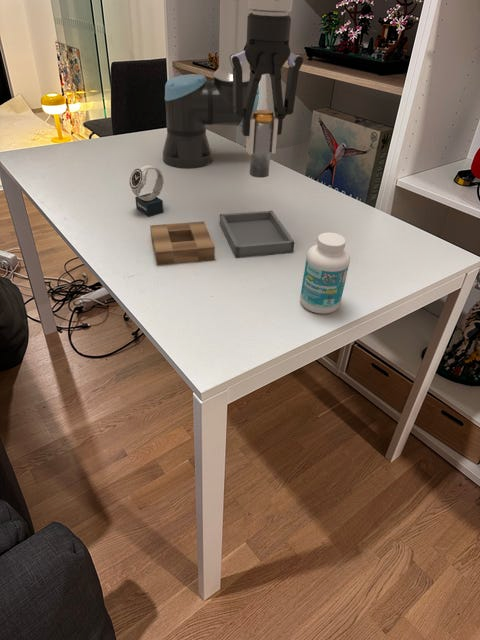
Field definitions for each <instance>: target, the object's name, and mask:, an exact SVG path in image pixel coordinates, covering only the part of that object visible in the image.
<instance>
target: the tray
mask: <svg viewBox="0 0 480 640" xmlns="http://www.w3.org/2000/svg"><path fill="white" fill-rule="evenodd" d="M219 226H220V229H221V230H222V232H223V234H224V237H225V239H226V241H227V243H228V245H229V247H230V249H231V252H232V253H233V256H234V257H235V259H239V258H246V257H247V258H250V257H260V256H269V255H279V254H280V255H281V254H282V255H283V254H291V253H294V250H295V249H294V248H295V241H294V239H293V238H292V236H291V235H290V233H289V232H288V230H287V229H286V228H285V226H284V224H282V222H281V220H280V219H279V218H278V217H277V215H276V213H275V212H274V210H262V211H261V210H260V211H259V210H258V211H249V212H235V213H234V212H233V213H221V214H219Z"/></svg>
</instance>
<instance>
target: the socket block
mask: <svg viewBox="0 0 480 640" xmlns="http://www.w3.org/2000/svg"><path fill="white" fill-rule="evenodd" d="M149 228H150V239H151V244H152V247H153V252H154V253H153V254H154V258H155V261H156V266H162V265H163V266H164V265H173V264H183V263H185V264H186V263H195V262H207V261H215V259H216V258H215V257H216V256H215V253H216V250H215V249H216V246H215V245H214V242H213V240H212V238H211V235H210V233H209V231H208V228H207V225H206V223H205V220H203V221H188V222H177V223H164V224H153V225H152V224H151V225H149Z"/></svg>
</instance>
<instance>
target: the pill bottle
mask: <svg viewBox="0 0 480 640" xmlns="http://www.w3.org/2000/svg"><path fill="white" fill-rule="evenodd" d="M346 242H347V241H346V238H345V237H344V236H342V235H341V234H339V233H335V232H322V233H320V234H319V235H318V236H317V240H316V244H314V245H312V246H311V247H310V248H309V249H308V251H307V253H306V257H305V264H304V265H305V266H304V270H303V271H304V272H303V278H302V284H301V289H300V296H299V297H300V298H299V299H300V303H301V304H302V306H303V307H304V308H305V309H306V310H308V311H309V312H313V313H317V314H322V315H323V314H330V313H333V312H335V311H337V310H338V309H339V307H340V305H341V303H342V297H343V293H344V289H345V285H346V284H345V283H346V279H347V276H348V271H349V267H350V262H351V261H350V260H351V256H350V253H349V252H348V250H346V247H345V246H346Z"/></svg>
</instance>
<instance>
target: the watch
mask: <svg viewBox="0 0 480 640" xmlns="http://www.w3.org/2000/svg"><path fill="white" fill-rule="evenodd" d="M149 170H155V172H156V179H155V183H154V187H153V188H152V192H151V193H146V194H142V195H140V193H141V190H142V189H143V188H144V187H145V186H146V185H147V175H148V173H149ZM164 183H165V182H164V176H163V173H162V172H161V170H160V169H158V168H157V167H155V166H153V165H151V164H144V165H141V166H138V167H137V168H134V170H133V171H132V172H131V175H130V177H129V185H130V188H131V191H132V193H133V194H134V196H135V198H134V199H135V206H136V207H135V208H136V210H137V211H138V212H140V213H141V214H143V215H144V216H146V217H147V218H150V217H153V216H156V215H160V214H163V213H164V201H163V200H162V198H159V197H158V196H160V194H161V192H162V189H163V186H164Z"/></svg>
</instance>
